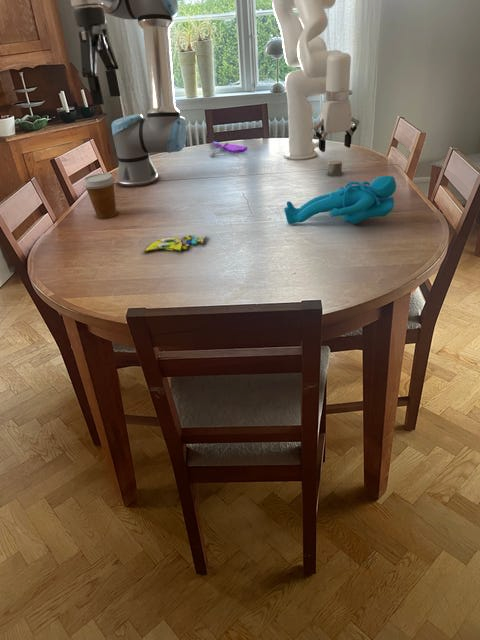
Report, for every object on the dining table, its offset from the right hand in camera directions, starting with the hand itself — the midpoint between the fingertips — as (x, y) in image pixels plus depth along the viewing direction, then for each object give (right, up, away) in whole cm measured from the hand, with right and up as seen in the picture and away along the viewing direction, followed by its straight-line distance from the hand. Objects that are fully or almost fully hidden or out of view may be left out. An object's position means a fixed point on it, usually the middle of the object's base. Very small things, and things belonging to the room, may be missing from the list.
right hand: (334, 148), depth 168 cm
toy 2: (-6, -32, -33) cm, 46 cm away
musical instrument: (-41, +15, +45) cm, 63 cm away
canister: (+1, -8, +4) cm, 9 cm away
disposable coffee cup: (-76, -26, -13) cm, 82 cm away
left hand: (-69, 0, -38) cm, 79 cm away
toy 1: (-51, -40, -38) cm, 74 cm away
